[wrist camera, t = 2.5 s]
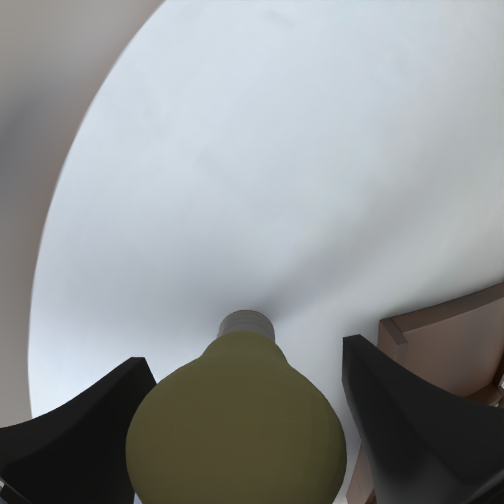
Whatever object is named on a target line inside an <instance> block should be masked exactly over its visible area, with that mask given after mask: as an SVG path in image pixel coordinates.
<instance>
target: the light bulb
mask: <svg viewBox="0 0 504 504" xmlns="http://www.w3.org/2000/svg"><path fill="white" fill-rule="evenodd" d="M125 448H126V464H127V471H128V474H129V477H130V481H131V484H132V487H133V489H134V491H135V492H136V494H137V496H138V497H139V499H140V501H141V502H142V504H332V503H333V501H334V500H335V498H336V496H337V494H338V492H339V490H340V488H341V486H342V484H343V480H344V476H345V472H346V465H347V452H346V441H345V436H344V431H343V429H342V426H341V423H340V421H339V419H338V417H337V415H336V413H335V411H334V410H333V408H332V407H331V405H330V403H329V402H328V400H327V399H326V398H325V396H324V395H323V394H322V393H321V392H320V391H319V390H318V389H317V388H316V387H315V386H314V385H313V384H312V383H311V382H310V381H309V380H308V379H307V378H306V377H304V376H303V375H302V374H300V373H299V372H298V371H296V370H295V369H294V368H292V367H291V366H290V365H289V364H288V362H287V360H286V358H285V356H284V354H283V352H282V351H281V349H280V348H279V347H278V346H277V345H276V344H275V334H274V328H273V325H272V323H271V322H270V320H269V319H268V318H267V317H266V316H264V315H263V314H261V313H259V312H256V311H252V310H240V311H236V312H233V313H231V314H230V315H228V316H227V317H226V318H225V319H224V320H223V322H222V323H221V325H220V328H219V332H218V335H217V339H216V340H214V341H213V342H212V343H211V344H210V345H209V346H208V347H207V348H206V350H205V351H204V353H203V354H202V355H201V356H200V357H199V358H197V359H195V360H194V361H192V362H190V363H188V364H186V365H184V366H182V367H180V368H178V369H177V370H175V371H174V372H173V373H171V374H170V375H168V376H167V377H165V378H164V379H162V380H161V381H160V382H159V383H158V384H157V385H156V386H155V387H154V388H153V389H152V390H151V391H150V392H149V393H148V394H147V395H146V397H145V398H144V399H143V401H142V402H141V404H140V405H139V407H138V409H137V411H136V413H135V414H134V416H133V419H132V421H131V424H130V426H129V429H128V433H127V437H126V446H125Z"/></svg>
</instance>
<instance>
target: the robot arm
mask: <svg viewBox="0 0 504 504" xmlns="http://www.w3.org/2000/svg"><path fill="white" fill-rule="evenodd" d="M342 383H343V387H344V391H345V395H346V399H347V403H348V406H349V408H350V411H351V413H352V416H353V419H354V421H355V424H356V426H357V429H358V432H359V434H360V437H361V440H362V442H363V445H364V447H365V450H366V453H367V457H368V460H369V464H370V469H371V473H372V478H373V483H374V489H375V494H376V500H377V504H504V408H500V407H495V406H490V405H486V404H482V403H479V402H475V401H472V400H469V399H466V398H463V397H460V396H458V395H455V394H453V393H450V392H448V391H446V390H444V389H441V388H439V387H437V386H435V385H433V384H431V383H429V382H427V381H425V380H424V379H422V378H420V377H419V376H417V375H415V374H414V373H412V372H410V371H409V370H407V369H406V368H404V367H403V366H401V365H400V364H398V363H397V362H396V361H394V360H393V359H391V358H390V357H389V356H387V355H386V354H385V353H383V352H382V351H381V350H379V349H378V348H377V347H375V346H374V345H373V344H372V343H370V342H369V341H368V340H367V339H365V338H364V337H363V336H361V335H360V334H358V335H353V336H348V337H343V359H342ZM156 385H157V383H156V381H155V379H154V377H153V375H152V373H151V371H150V368H149V366H148V364H147V362H146V359H145V357H131V358H129V359H128V360H126V361H125V362H123V363H122V364H120V365H119V366H117V367H116V368H115V369H113V370H112V371H111V372H109V373H108V374H107V375H105V376H104V377H103V378H101V379H100V380H99V381H97V382H96V383H95V384H93V385H92V386H91V387H89V388H88V389H86V390H85V391H83V392H82V393H80V394H79V395H78V396H76V397H75V398H73V399H72V400H70V401H68V402H67V403H65V404H63V405H62V406H60V407H58V408H56V409H54V410H52V411H50V412H48V413H46V414H44V415H41V416H39V417H36V418H34V419H32V420H29V421H26V422H23V423H20V424H16V425H12V426H8V427H4V428H0V480H1V481H2V482H3V483H4V486H3V488H2V487H1V486H0V504H142V502H141V501H140V499H139V497H138V496H137V494H136V492H135V491H134V489H133V487H132V484H131V481H130V477H129V474H128V471H127V464H126V448H125V446H126V437H127V433H128V429H129V426H130V424H131V421H132V419H133V416H134V414H135V413H136V411H137V409H138V407H139V405H140V404H141V402H142V401H143V399H144V398H145V397H146V395H147V394H148V393H149V392H150V391H151V390H152V389H153V388H154V387H155V386H156Z"/></svg>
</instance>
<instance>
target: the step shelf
mask: <svg viewBox="0 0 504 504" xmlns="http://www.w3.org/2000/svg"><path fill="white" fill-rule="evenodd" d="M378 349H379V350H381V351H382V352H383V353H385V354H386V355H387V356H389V357H390V358H391V359H393V360H394V361H396V362H397V363H398V364H400V365H401V366H403V367H404V368H406V369H407V370H409V371H410V372H412V373H414V374H415V375H417V376H419V377H420V378H422V379H424V380H425V381H427V382H429V383H431V384H433V385H435V386H437V387H439V388H441V389H444V390H446V391H448V392H450V393H453V394H455V395H458V396H460V397H463V398H466V399H469V400H472V401H475V402H479V403H482V404H486V405H490V406H495V407H500V408H504V389H503V388H502V387H501V385H502V383H503V381H504V282H503V283H500V284H498V285H495V286H493V287H490V288H487V289H485V290H482V291H479V292H476V293H473V294H470V295H468V296H465V297H462V298H459V299H455V300H452V301H449V302H446V303H443V304H439V305H436V306H433V307H429V308H426V309H422V310H419V311H415V312H411V313H407V314H404V315H400V316H396V317H392V318H387V319H383V320H380V324H379V337H378ZM346 497H347V502H348V504H377V500H376V494H375V489H374V483H373V478H372V473H371V469H370V464H369V460H368V457H367V453H366V450H365V447H364V445H363V442H362V443H361V447H360V451H359V455H358V459H357V463H356V466H355V470H354V473H353V476H352V480H351V483H350V486H349V489H348V492H347V495H346Z"/></svg>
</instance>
